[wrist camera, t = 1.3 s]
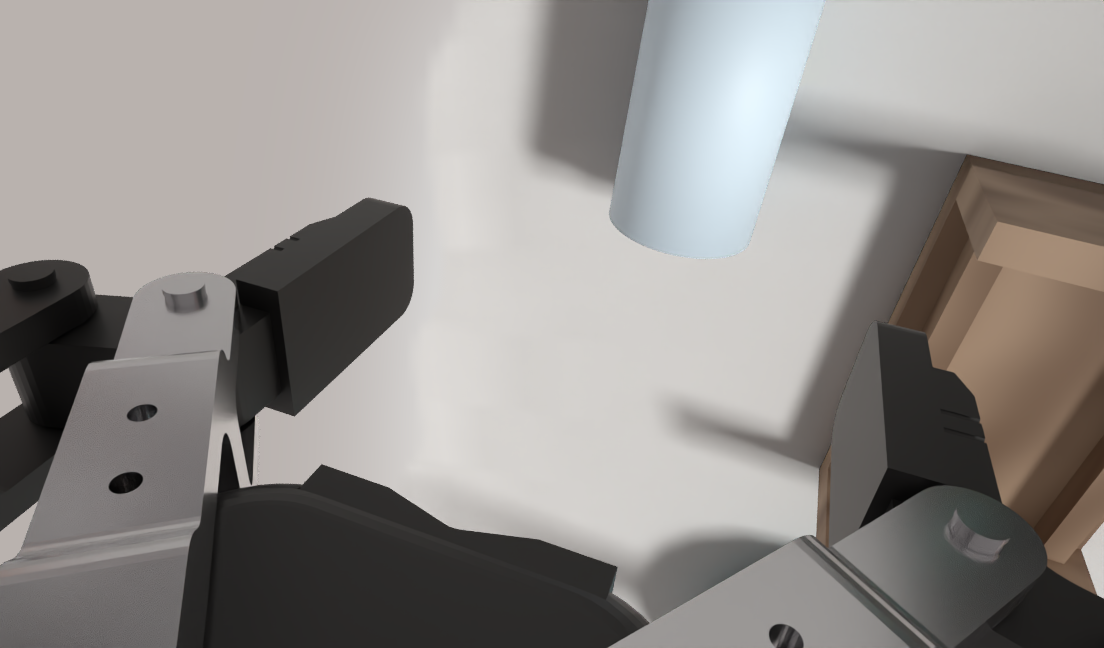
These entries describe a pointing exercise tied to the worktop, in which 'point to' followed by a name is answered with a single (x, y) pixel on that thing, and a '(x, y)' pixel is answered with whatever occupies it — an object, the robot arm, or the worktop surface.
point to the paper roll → (708, 120)
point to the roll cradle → (1021, 341)
